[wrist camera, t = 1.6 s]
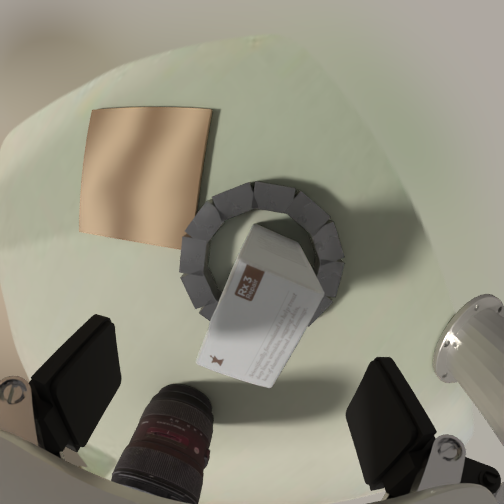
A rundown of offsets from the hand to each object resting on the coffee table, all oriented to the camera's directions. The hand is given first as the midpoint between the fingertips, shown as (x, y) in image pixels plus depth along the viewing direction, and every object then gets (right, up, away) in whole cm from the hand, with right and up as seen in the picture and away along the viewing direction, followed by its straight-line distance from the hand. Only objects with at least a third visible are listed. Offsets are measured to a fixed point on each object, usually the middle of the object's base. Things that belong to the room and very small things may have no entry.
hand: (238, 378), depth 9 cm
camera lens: (-8, -14, +20) cm, 25 cm away
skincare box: (+1, +4, +15) cm, 15 cm away
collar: (+1, +4, +15) cm, 15 cm away
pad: (-10, +11, +13) cm, 20 cm away
